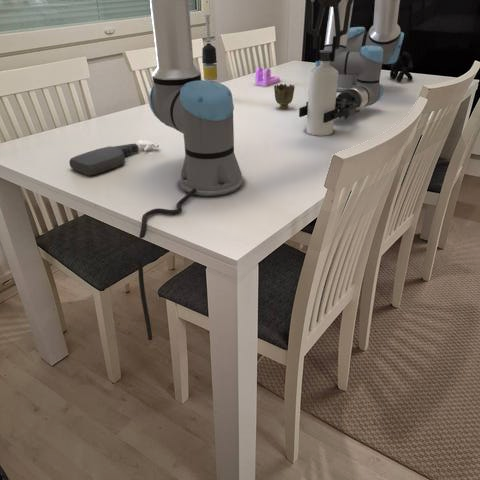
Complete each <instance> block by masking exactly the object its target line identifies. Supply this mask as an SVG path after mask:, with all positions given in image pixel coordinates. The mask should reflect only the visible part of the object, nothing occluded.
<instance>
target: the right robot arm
mask: <svg viewBox="0 0 480 480" xmlns="http://www.w3.org/2000/svg"><path fill="white" fill-rule="evenodd" d="M354 2H355V0H353V2H352V4H351V11H350V18H349V25H348V31H347V34H345V35H342V36H341V37H340V47H339V49H335V60H334V62H331V61H329V65H331V66H332V67H333V68H335V69H336V70H337V71H338V82H337V92H339V94H338V95H337V96H336V103H335V109H334V110H332V111H329V112H327V113H324V119H323V122H324V123H326V122H329V121H331V120H334V121H335V120H337V119H342V118H344V119H347V120H348V119H349V118H351V117H352V116H353V115H355V114H357V113H359V112H360V110H361V109H363V108H366V107H369V106H372V105H374V104H376V103H377V102H379V101H380V100H381V99H382V97H383V94H384V89H383V86H382V84H381V83H380V81H381V80H380V79H381V72H382V68H383V65H387V64H393V63H395V62H396V61H397V59H398V56H400V52H401V48H402V45H403V40H404V38H405V37H404V36H405V33H404V32H403V31H401V27H400V25H399V24H398V18H399V10H400V2H401V0H374V9H373V10H374V11H373V24H372V25H371V27H370V28H369V30H367V31H366V27H364V26H353V27H351V21H352V14H353V8H354ZM346 5H347V2H346V1H345V0H341V2H340V3H339V17H340V29H341V30H343V25H344V18H345V11H346ZM334 36H336V32H335V20H334V11H333V7H330V6H329V10H328V18H327V25H326V33H325V39H324V47H323V49H322V50H321V49H320V51H332V44H333V37H334ZM320 63H321V61H316V60H315V68H316V67H317V66H319V65H320ZM307 112H308V101H306V102H305V105H303V106H301V107H299V109H298V117H299V118H303V117H305V116H307Z"/></svg>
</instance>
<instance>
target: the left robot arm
mask: <svg viewBox="0 0 480 480" xmlns="http://www.w3.org/2000/svg"><path fill="white" fill-rule="evenodd" d="M305 1H306V4H307V26H306V27H307V31H306V33H307V34H308V35H311V36H312V38H313V40H312V48H313V49H316V50H315V62H316V61H319V51H320V50H321V43H322V35H320V29H321V25H322V22H323V18H324V14H325V10H326V8H328V7H329V8H330V7H333V11H334V20H335V32H336V36H334V37H333V44H332V55H331V62H334V60H335V49H339V47H340V37H341V36H342V35H345V34H347V31H348V25H349V18H350V11H351V4H352V2H353V3H354V1H353V0H345V1H346V2H347V5H346V11H345V18H344V25H343V30H341V29H340V17H339V3H340V2H341V0H317V1H318V3H319V9H318V13H317V18H316V21H315V25H314V2H315V0H305ZM149 3H150V13H151V21H152V28H153V29H152V30H153V37H154V46H155V55H156V62H157V67H156V68H155V70H154V71H153V72H152V74H151V76H152V86H151V87H150V89H149V92H148V104H149V108H150V110H151V112H152V114H153V115H154V117H156V118H157V119H158V121H160V122H161V123H162V124H164V125H165V126H167V127H169V128H172V129H174V130H176V131H177V132H180V133H181V134H183V143H184V154H185V155H184V158H183V164H182V168H181V171H180V177H179V178H180V179H179V183H180V184H179V185H180V188H181V189H182V191H184V192H186V193H187V194H185V196H183V197H182V198H181V199H179V200H178V202H177V203H176V205H175V207H176V209H166V208H152V209H151V210H148V211H146V212H145V213H144V214H143V215H142V217H141V225H140V226H141V227H140V231H139V236H138V238H140V239H143V238H145V234H146V231H147V223H148V217H151V216H152V215H155V214H165V215H172V216H173V215H178V214H180V213H182V210H183V207H182V205H184V203H186V202H187V201H188V200H189V199H190V198H191V197H192V196H199V197H221V196H224V195H229V194H232V193H234V192H235V191H237V190H239V189H240V188H241V187H242V185H243V174H242V171H241V168H240V165H239V163H238V160H237V157H236V154H235V132H234V131H235V130H234V127H235V126H234V110H235V106H234V100H233V98H234V97H233V94H232V91H231V89H230V88H229V87H227V85H225V84H223V83H221V82H218V81H215V82H210V81H208V80H204V79H203V80H202V75H201V70H200V69H198V68H197V66H195V63H194V53H193V52H194V51H193V41H192V39H193V38H192V26H191V25H192V24H191V13H190V11H191V10H190V0H149ZM137 268H138V269H137V271H138V281H139V282H138V283H139V285H138V286H139V292H140V299H141V304H142V310H143V315H144V321H145V327H146V333H147V340H148V341H152V340H153V331H152V326H151V320H150V319H151V318H150V314H149V309H148V303H147V302H148V301H147V296H146V289H145V280H144V279H145V278H144V262H143V261H141V260H138V261H137Z"/></svg>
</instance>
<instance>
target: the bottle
mask: <svg viewBox="0 0 480 480" xmlns="http://www.w3.org/2000/svg"><path fill="white" fill-rule="evenodd" d="M337 82H338V71H337V70H336V69H335V68H333V67H332V66H331V65H329V61H321V63H320V65H319V66H317V67H316V66H315V67H314V68H312V69H310V71H309V82H308V96H307V102H308V112H307V115H306V130H305V131H306V133H307V134H309V135H313V136H320V137H321V136H324V137H325V136H328V135H332V134H333V132H334V125H335V124H334V123H335V119H334V120H331V121H329V122H326V123H324V122H323V119H324V113H327V112H329V111H332V110H334V109H335V103H336V97H337V92H338V91H337Z"/></svg>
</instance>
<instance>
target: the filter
mask: <svg viewBox="0 0 480 480" xmlns="http://www.w3.org/2000/svg"><path fill="white" fill-rule="evenodd" d="M210 17H211V14H204V18H205V27H206V29H205V30H206V31H205V33H206V39H207V40H206V42H207V43H206V45H204V46H202V49H201V50H202V51H201V52H202V54H201V55H202V57H201V58H202V61H201V63H202V71H203V72H202V73H203V74H202V75H203V80H205V81H210V82H216V80H218V64H216V63H218V61H217V48H216V47H215V46H214V45H212V43H210V42H211V40H210V39H211V31H210V29H211V28H210Z"/></svg>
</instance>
